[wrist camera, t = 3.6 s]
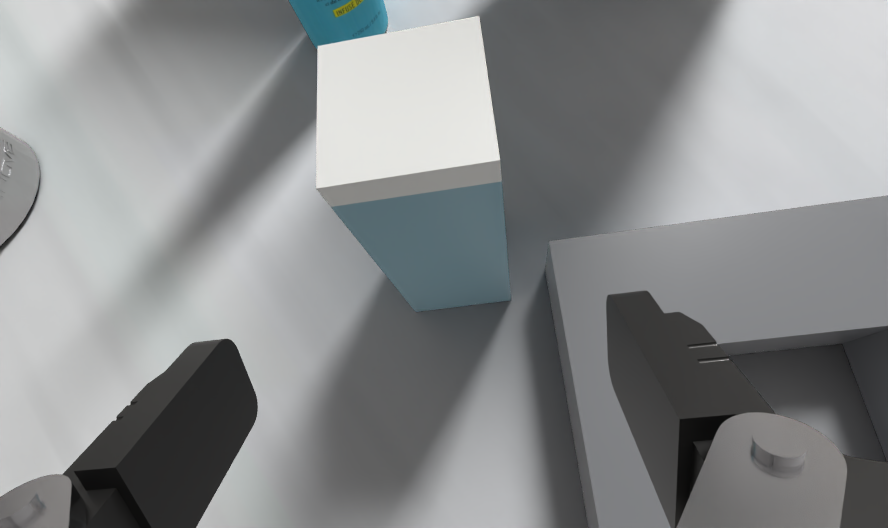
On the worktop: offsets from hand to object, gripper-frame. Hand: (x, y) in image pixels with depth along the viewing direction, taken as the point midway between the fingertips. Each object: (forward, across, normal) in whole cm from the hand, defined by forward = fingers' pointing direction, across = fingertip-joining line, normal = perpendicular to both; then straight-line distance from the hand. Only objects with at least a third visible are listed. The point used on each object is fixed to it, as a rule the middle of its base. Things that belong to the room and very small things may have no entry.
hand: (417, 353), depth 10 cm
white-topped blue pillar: (+13, 0, +4) cm, 13 cm away
